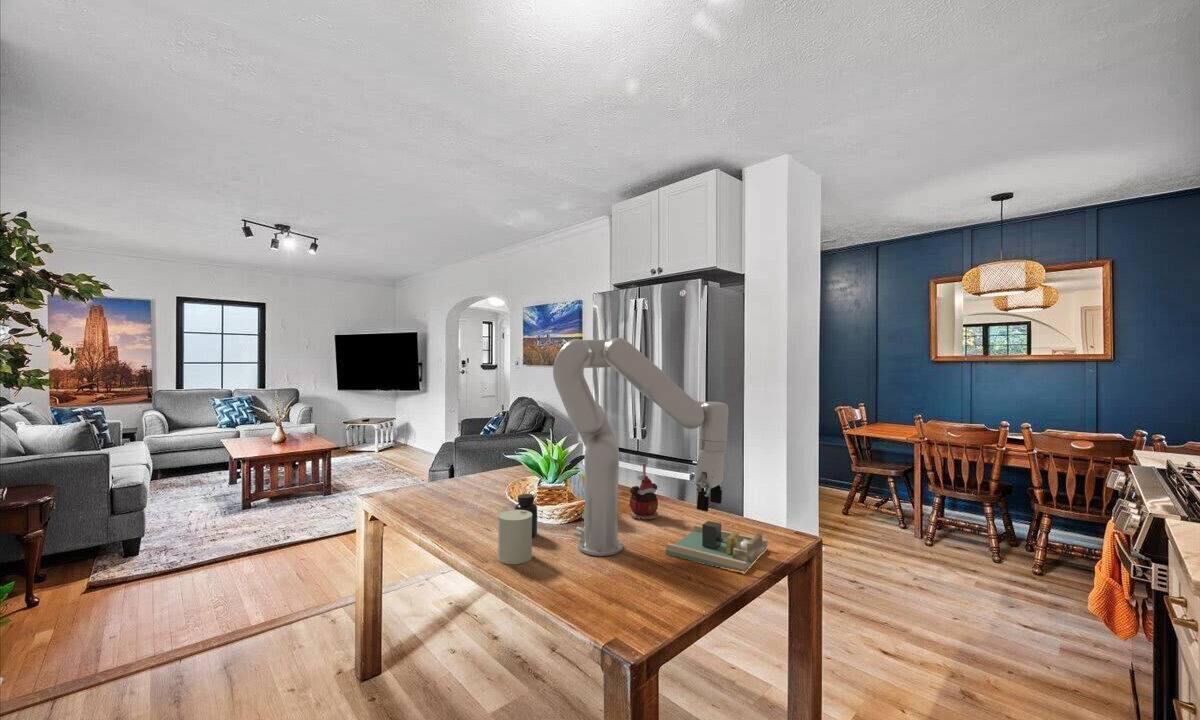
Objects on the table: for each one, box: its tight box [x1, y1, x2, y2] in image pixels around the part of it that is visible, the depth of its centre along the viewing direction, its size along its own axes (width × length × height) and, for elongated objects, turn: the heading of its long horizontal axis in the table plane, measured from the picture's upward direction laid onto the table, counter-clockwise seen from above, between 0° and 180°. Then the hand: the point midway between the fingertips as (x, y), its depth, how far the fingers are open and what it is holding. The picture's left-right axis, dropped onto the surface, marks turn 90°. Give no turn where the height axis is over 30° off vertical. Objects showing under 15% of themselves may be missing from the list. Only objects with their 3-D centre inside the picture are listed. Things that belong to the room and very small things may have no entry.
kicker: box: [701, 520, 740, 554], centre depth 140 cm, size 9×6×6 cm
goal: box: [733, 533, 763, 563], centre depth 135 cm, size 5×9×5 cm, turn 146°
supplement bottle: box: [514, 493, 538, 539], centre depth 151 cm, size 7×7×12 cm
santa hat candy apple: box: [629, 463, 659, 520], centre depth 171 cm, size 11×9×18 cm
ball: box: [739, 541, 748, 551], centre depth 136 cm, size 4×4×4 cm
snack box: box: [566, 462, 585, 520], centre depth 175 cm, size 21×6×15 cm, turn 22°
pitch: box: [665, 524, 769, 572], centre depth 140 cm, size 22×20×3 cm
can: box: [497, 509, 533, 565], centre depth 135 cm, size 9×9×12 cm
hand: (709, 506), depth 141 cm, fingers open, 9 cm apart
